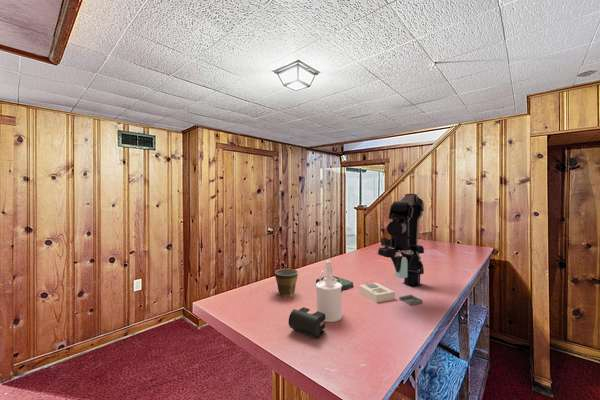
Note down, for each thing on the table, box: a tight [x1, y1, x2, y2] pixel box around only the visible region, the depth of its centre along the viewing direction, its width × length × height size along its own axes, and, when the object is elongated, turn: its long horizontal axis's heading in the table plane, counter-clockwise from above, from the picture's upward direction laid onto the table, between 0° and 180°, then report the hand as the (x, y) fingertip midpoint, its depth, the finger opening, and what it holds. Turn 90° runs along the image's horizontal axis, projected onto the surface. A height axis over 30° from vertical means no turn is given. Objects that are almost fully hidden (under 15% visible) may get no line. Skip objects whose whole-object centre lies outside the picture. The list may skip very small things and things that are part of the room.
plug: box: [394, 255, 407, 279], centre depth 109 cm, size 3×3×8 cm
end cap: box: [288, 306, 327, 339], centre depth 86 cm, size 10×7×7 cm
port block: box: [358, 282, 396, 304], centre depth 115 cm, size 9×12×4 cm
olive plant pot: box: [273, 268, 299, 298], centre depth 119 cm, size 13×10×10 cm
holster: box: [398, 294, 423, 306], centre depth 109 cm, size 6×6×2 cm
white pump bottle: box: [315, 260, 343, 323], centre depth 98 cm, size 10×9×20 cm
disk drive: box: [315, 275, 354, 292], centre depth 129 cm, size 10×3×15 cm
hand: (401, 271), depth 109 cm, fingers closed on plug, 3 cm apart
